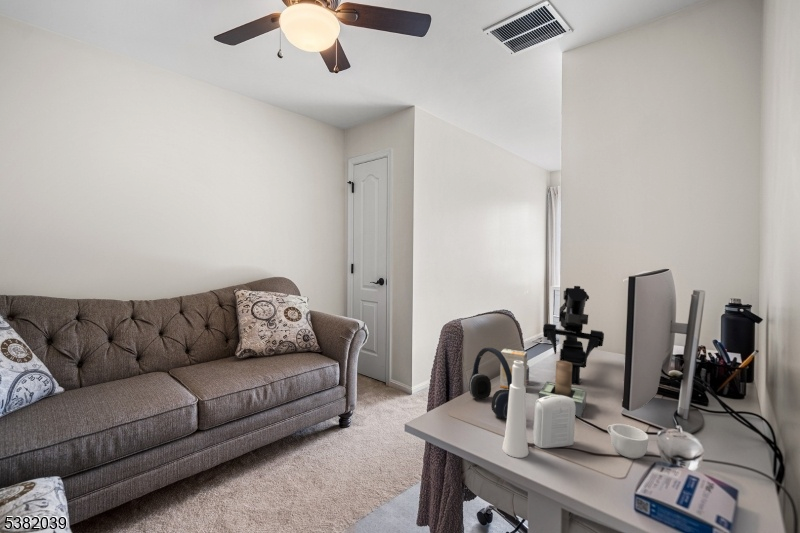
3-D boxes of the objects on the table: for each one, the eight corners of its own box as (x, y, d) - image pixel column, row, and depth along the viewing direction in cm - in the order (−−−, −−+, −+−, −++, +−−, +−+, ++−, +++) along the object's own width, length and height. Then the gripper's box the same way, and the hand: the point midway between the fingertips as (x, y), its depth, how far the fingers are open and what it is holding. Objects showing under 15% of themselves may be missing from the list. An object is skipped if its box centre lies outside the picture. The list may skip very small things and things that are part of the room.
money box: (546, 394, 121) (546, 381, 120) (585, 403, 114) (586, 389, 114) (538, 406, 111) (538, 392, 110) (581, 417, 104) (581, 402, 104)
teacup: (655, 460, 83) (656, 438, 83) (629, 465, 81) (631, 442, 81) (618, 438, 93) (619, 418, 93) (595, 442, 91) (596, 421, 91)
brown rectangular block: (560, 399, 116) (562, 359, 115) (573, 404, 111) (575, 364, 111) (551, 401, 113) (553, 361, 113) (564, 407, 109) (565, 366, 109)
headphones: (520, 421, 101) (523, 358, 100) (499, 424, 99) (502, 359, 98) (483, 393, 120) (485, 340, 120) (465, 395, 118) (467, 341, 117)
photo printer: (565, 437, 93) (567, 391, 92) (576, 446, 89) (579, 397, 88) (530, 441, 91) (532, 393, 90) (540, 450, 86) (542, 401, 86)
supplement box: (526, 388, 126) (527, 351, 125) (523, 392, 122) (524, 355, 121) (503, 383, 130) (504, 347, 130) (499, 387, 126) (500, 350, 125)
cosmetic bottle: (498, 444, 89) (501, 357, 88) (521, 443, 89) (525, 357, 88) (508, 458, 83) (511, 365, 82) (533, 457, 83) (536, 365, 82)
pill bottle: (526, 380, 134) (527, 357, 133) (530, 385, 128) (531, 361, 128) (512, 379, 134) (513, 356, 134) (515, 384, 129) (516, 360, 128)
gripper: (545, 301, 126) (539, 338, 117) (606, 308, 117) (604, 349, 109) (546, 318, 134) (540, 355, 125) (603, 326, 125) (601, 366, 116)
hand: (570, 356), depth 119 cm, fingers open, 9 cm apart
